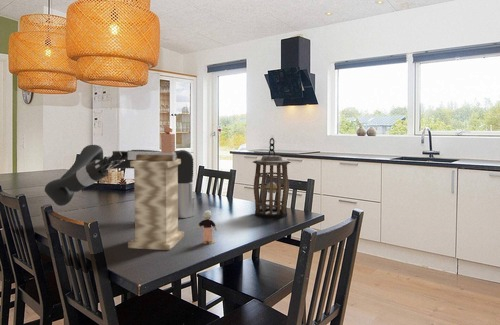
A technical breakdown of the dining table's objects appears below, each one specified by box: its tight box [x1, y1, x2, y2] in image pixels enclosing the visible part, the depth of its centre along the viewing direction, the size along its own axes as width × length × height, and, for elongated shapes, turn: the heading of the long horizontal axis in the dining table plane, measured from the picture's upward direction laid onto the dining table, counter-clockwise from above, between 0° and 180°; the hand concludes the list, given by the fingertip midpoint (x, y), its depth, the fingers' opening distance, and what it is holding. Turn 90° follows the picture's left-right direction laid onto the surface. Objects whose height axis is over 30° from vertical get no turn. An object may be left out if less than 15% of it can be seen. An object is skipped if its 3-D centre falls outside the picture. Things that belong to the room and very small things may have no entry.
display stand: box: [127, 155, 185, 251], centre depth 145 cm, size 16×18×34 cm
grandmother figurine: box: [197, 210, 218, 245], centre depth 146 cm, size 8×4×13 cm, turn 92°
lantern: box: [252, 137, 292, 220], centre depth 194 cm, size 19×19×40 cm
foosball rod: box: [112, 125, 176, 161], centre depth 144 cm, size 24×4×13 cm, turn 83°
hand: (125, 153), depth 145 cm, fingers open, 8 cm apart
